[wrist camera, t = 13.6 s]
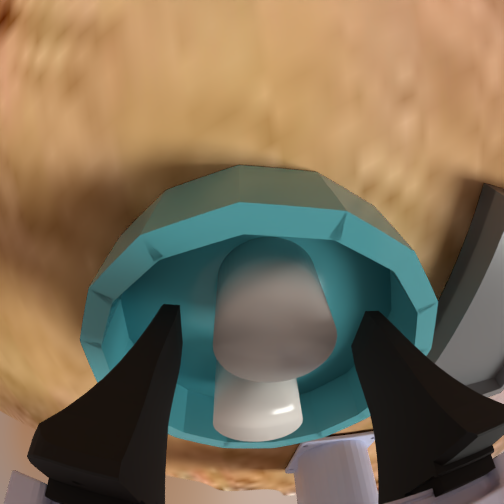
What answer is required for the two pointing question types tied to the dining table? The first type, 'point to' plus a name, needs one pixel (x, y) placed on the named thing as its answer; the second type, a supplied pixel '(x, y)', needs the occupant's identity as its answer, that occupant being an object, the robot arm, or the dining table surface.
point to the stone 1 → (271, 312)
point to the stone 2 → (255, 407)
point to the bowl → (206, 276)
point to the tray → (475, 303)
